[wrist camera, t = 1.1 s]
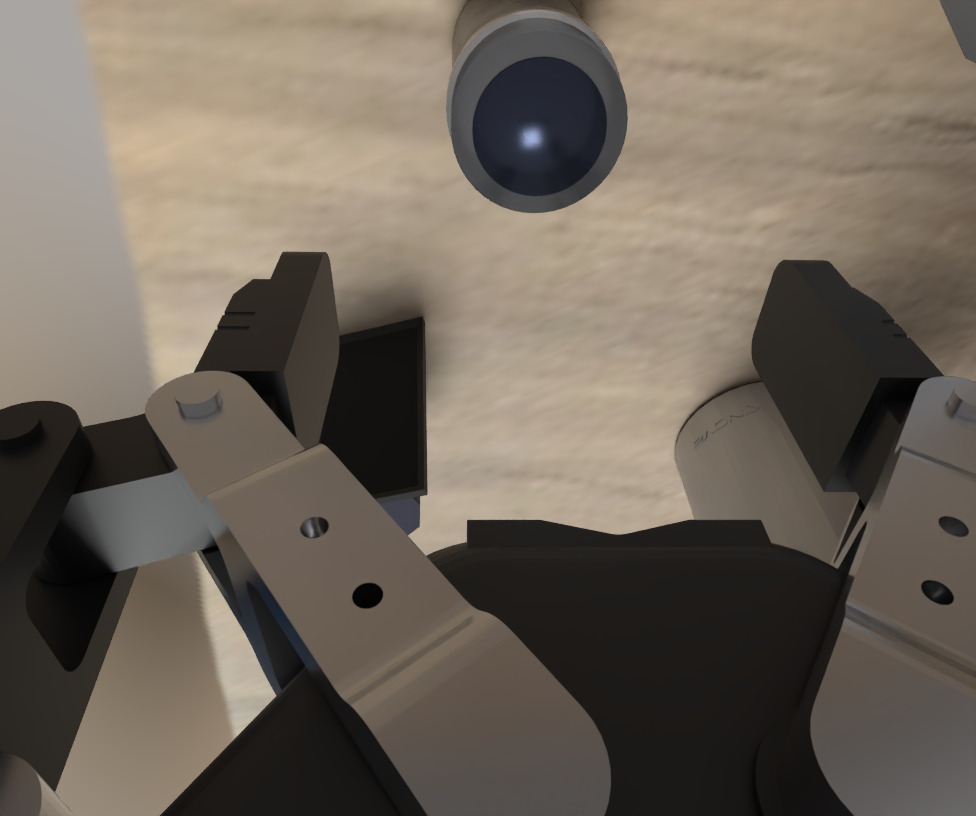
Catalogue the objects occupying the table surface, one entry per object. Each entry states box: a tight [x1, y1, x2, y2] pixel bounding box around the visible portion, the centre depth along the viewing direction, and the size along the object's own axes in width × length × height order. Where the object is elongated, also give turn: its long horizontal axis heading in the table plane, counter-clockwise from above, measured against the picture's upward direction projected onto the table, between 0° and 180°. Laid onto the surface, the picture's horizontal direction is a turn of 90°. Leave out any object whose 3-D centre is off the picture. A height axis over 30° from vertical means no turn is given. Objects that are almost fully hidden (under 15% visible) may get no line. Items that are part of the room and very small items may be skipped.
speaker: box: [319, 317, 427, 536], centre depth 33 cm, size 8×6×10 cm
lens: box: [446, 0, 628, 213], centre depth 23 cm, size 5×5×9 cm
